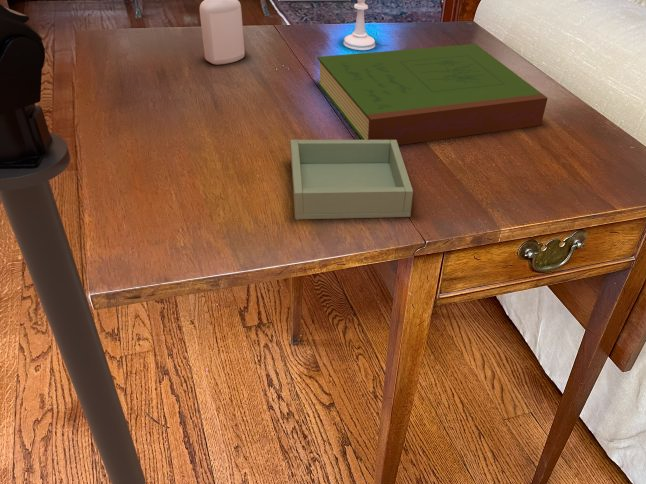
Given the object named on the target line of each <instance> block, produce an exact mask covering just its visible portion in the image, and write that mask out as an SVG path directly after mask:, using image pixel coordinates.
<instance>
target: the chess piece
mask: <svg viewBox="0 0 646 484" xmlns="http://www.w3.org/2000/svg"><path fill="white" fill-rule="evenodd" d="M353 8H354V9H355V10H357V13H356V20H355V26H354V30H353V31H352V33H351V34H348V35H346V36H345V37H344V38H343V45H344V46H345V47H346V48H347V49H350V50H355V51H369V50H373V49H375V47H376V40H375V39H374V37H372V36H370V35H368V32H366V21H365V10H368V9H369V5H368V4H366V0H357V3H355V4H354V6H353Z"/></svg>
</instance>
